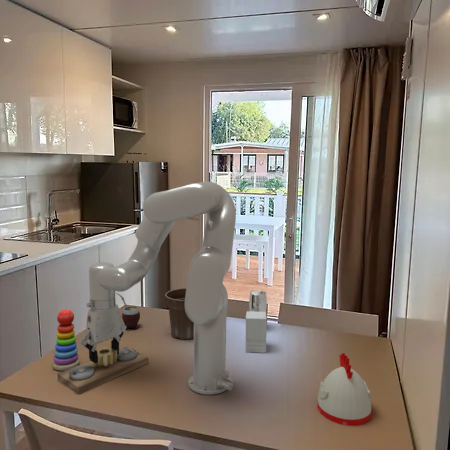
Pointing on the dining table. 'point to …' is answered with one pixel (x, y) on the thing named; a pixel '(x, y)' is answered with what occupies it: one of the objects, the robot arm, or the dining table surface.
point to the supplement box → (256, 331)
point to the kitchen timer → (344, 396)
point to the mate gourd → (130, 316)
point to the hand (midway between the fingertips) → (104, 356)
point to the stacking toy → (65, 342)
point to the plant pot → (179, 315)
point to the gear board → (101, 371)
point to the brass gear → (106, 356)
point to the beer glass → (258, 301)
